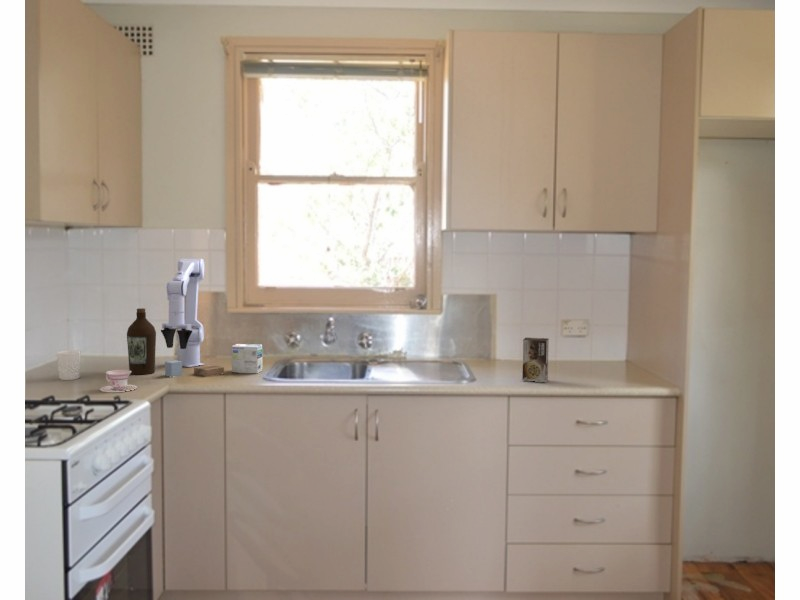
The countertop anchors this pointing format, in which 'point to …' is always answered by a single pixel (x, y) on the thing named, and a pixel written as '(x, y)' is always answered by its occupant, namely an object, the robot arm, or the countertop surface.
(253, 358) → the light bulb box
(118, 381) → the teacup
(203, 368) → the walnut block
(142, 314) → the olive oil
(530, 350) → the coffee box
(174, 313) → the robot arm
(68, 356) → the white cup
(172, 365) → the blue grey block
